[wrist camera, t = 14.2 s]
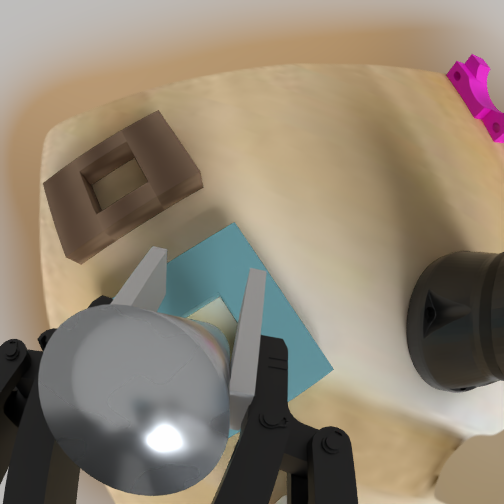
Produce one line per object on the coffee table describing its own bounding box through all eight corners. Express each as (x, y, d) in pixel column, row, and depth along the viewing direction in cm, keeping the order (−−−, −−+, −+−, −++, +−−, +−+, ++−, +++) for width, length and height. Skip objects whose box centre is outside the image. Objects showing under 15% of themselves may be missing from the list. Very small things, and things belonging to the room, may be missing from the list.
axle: (208, 309, 19) (151, 263, 5) (242, 361, 18) (273, 445, 4) (157, 340, 18) (12, 357, 4) (190, 392, 17) (113, 513, 4)
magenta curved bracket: (445, 75, 37) (464, 50, 29) (464, 81, 37) (482, 58, 30) (486, 141, 33) (511, 118, 26) (502, 143, 34) (526, 123, 27)
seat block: (234, 233, 26) (234, 222, 23) (322, 365, 24) (333, 369, 21) (104, 315, 23) (89, 313, 20) (189, 446, 21) (184, 460, 18)
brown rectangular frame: (163, 127, 29) (158, 110, 26) (203, 187, 27) (200, 171, 24) (56, 195, 26) (43, 183, 23) (81, 264, 24) (65, 257, 21)
